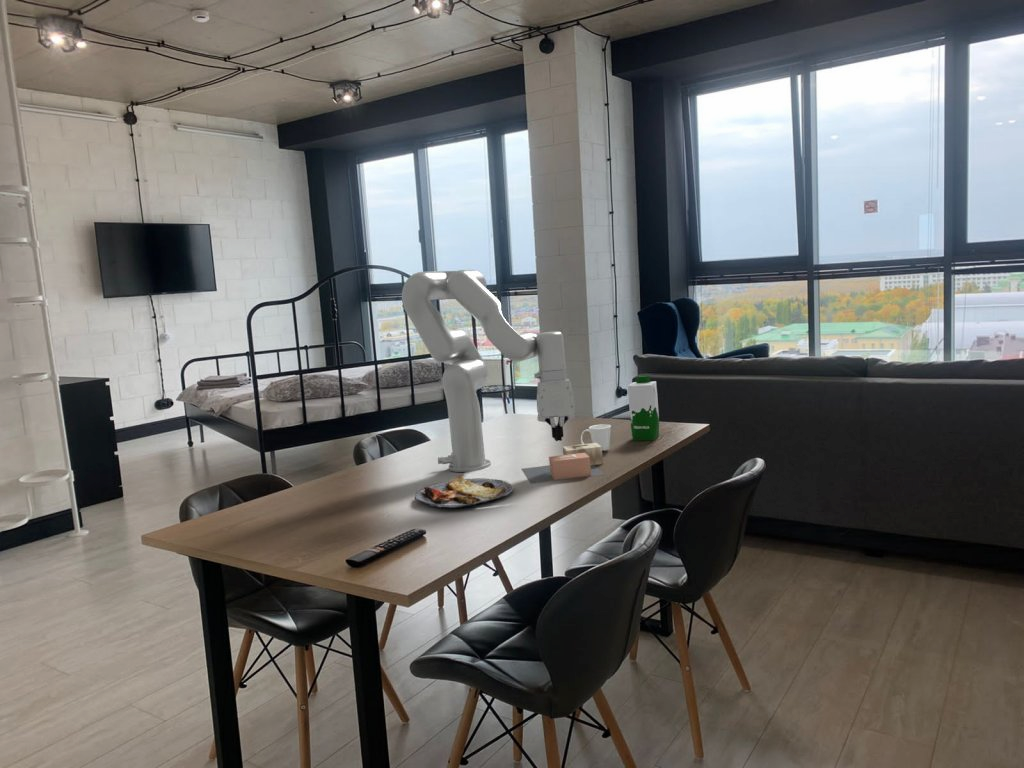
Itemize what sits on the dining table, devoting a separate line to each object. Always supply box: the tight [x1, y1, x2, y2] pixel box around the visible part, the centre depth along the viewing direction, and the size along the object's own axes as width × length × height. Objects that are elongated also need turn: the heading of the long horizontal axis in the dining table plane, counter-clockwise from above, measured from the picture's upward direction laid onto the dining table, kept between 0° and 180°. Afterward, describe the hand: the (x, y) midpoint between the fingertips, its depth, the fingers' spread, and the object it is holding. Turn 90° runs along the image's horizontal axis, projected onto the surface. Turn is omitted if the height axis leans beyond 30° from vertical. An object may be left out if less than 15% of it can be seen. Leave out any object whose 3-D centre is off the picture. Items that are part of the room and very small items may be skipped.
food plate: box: [414, 475, 514, 509], centre depth 196 cm, size 25×23×4 cm
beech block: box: [562, 443, 604, 466], centre depth 219 cm, size 5×6×10 cm
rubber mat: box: [521, 464, 606, 485], centre depth 212 cm, size 20×18×1 cm
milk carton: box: [627, 374, 660, 441], centre depth 247 cm, size 9×9×20 cm
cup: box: [580, 424, 612, 452], centre depth 233 cm, size 7×10×8 cm
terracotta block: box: [548, 453, 591, 480], centre depth 207 cm, size 5×6×10 cm
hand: (558, 439), depth 217 cm, fingers closed
